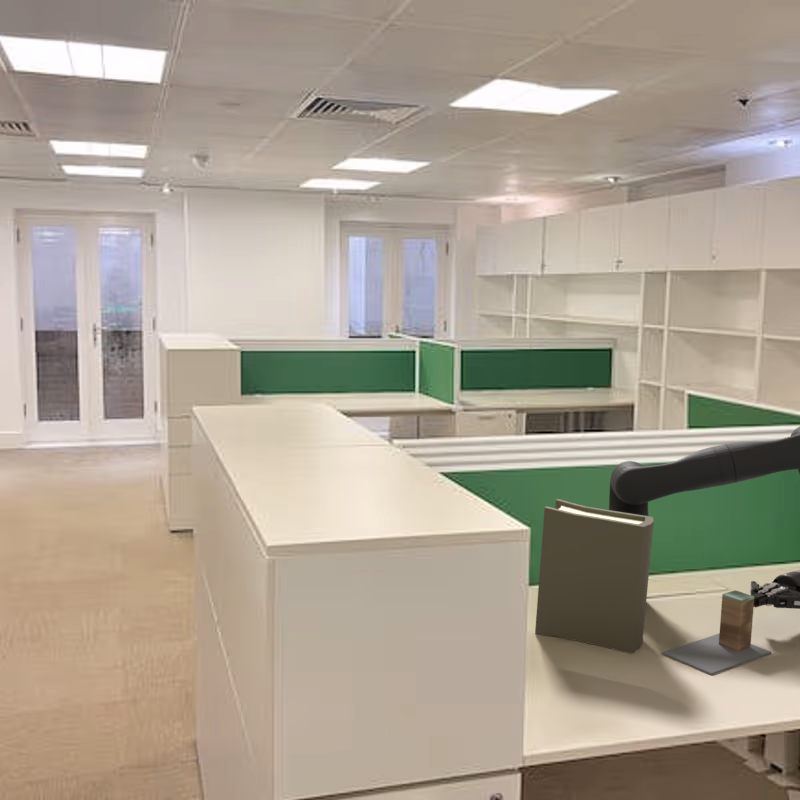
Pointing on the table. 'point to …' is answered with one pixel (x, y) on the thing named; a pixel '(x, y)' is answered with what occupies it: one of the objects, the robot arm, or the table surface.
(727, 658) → the rubber mat
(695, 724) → the table surface
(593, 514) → the book
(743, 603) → the walnut block
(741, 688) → the table surface
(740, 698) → the table surface
